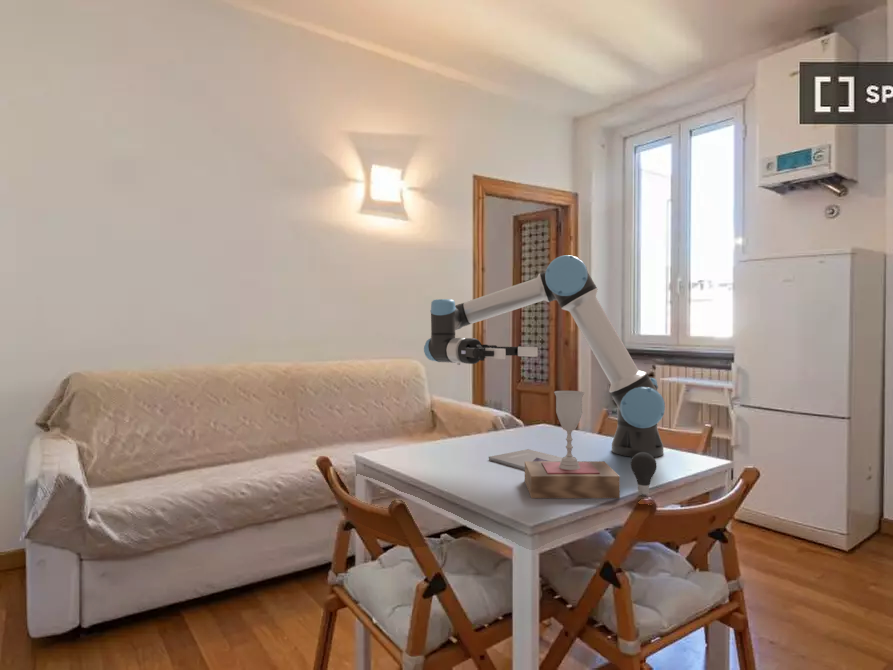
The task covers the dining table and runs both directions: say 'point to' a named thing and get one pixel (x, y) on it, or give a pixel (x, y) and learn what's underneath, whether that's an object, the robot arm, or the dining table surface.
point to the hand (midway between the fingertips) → (521, 352)
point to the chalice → (569, 421)
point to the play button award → (523, 458)
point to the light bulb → (643, 471)
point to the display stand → (571, 480)
